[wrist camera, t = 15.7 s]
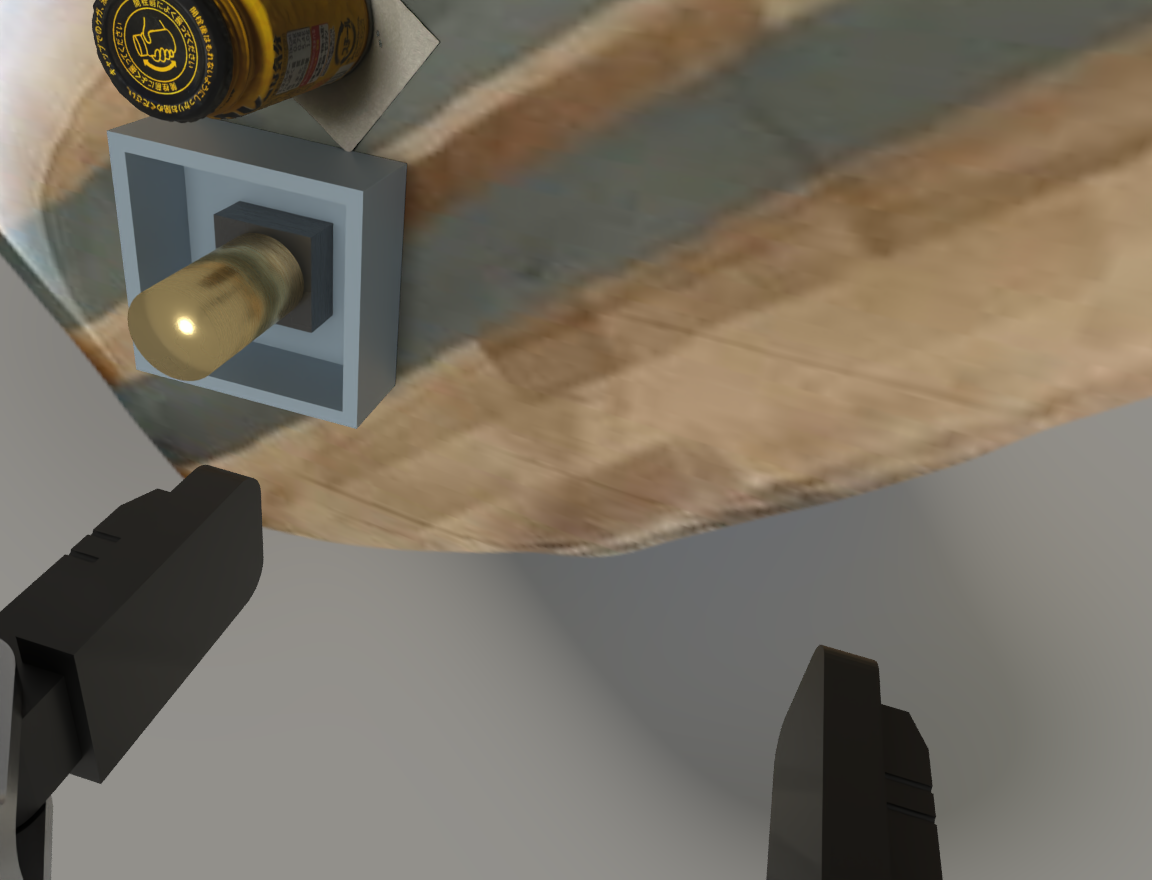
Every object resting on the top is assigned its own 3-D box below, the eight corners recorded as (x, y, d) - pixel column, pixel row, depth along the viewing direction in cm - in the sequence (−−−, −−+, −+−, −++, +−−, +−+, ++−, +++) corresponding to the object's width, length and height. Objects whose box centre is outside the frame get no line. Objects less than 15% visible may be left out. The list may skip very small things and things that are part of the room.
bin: (172, 109, 46) (106, 130, 42) (406, 163, 44) (363, 191, 40) (191, 331, 53) (136, 369, 49) (395, 385, 51) (356, 428, 47)
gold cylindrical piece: (239, 200, 47) (112, 266, 39) (333, 223, 46) (224, 295, 38) (244, 293, 50) (126, 373, 41) (332, 315, 49) (231, 401, 41)
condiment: (298, -111, 39) (117, -113, 29) (440, 41, 41) (316, 88, 31) (217, 18, 43) (33, 55, 33) (351, 152, 45) (214, 226, 35)
